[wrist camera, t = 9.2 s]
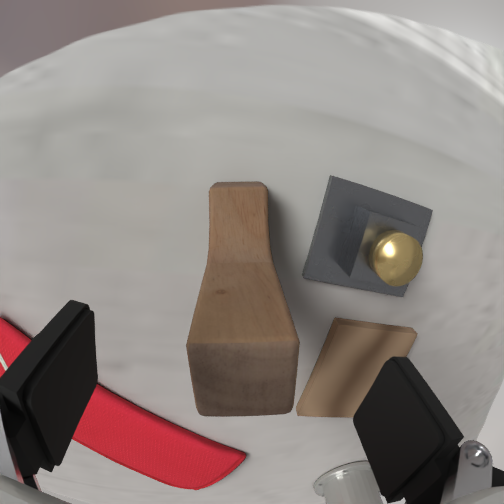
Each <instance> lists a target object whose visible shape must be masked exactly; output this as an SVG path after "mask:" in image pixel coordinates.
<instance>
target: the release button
mask: <svg viewBox="0 0 504 504" xmlns="http://www.w3.org/2000/svg"><path fill="white" fill-rule="evenodd" d="M422 260H423V253H422V248H421V246H420V244H419V242H418V241H417V240H416V239H415V238H413V237H411V236H409V235H407V234H405V233H403V232H401V231H399V230H388V231H385V232H383V233H382V234H380V235H379V236H378V237H377V238H376V239H375V241H374V242H373V244H372V246H371V248H370V252H369V263H370V266H371V268H372V270H373V272H374V273H375V274H377V275H378V276H379V277H380V278H381V279H382V280H383V281H384V282H385V283H387V284H388V285H391V286H402V285H405V284H407V283H408V282H410V281H411V280H412V279H413V278H414V277H415V276H416V275H417V273H418V272H419V270H420V267H421V264H422Z"/></svg>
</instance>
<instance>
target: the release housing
mask: <svg viewBox="0 0 504 504" xmlns="http://www.w3.org/2000/svg"><path fill="white" fill-rule="evenodd" d="M432 211H433V210H431V209H428V208H426V207H423V206H420V205H418V204H415V203H412V202H410V201H407V200H404V199H401V198H399V197H396V196H393V195H390V194H387V193H384V192H381V191H378V190H376V189H373V188H370V187H366V186H363V185H360V184H357V183H354V182H351V181H348V180H344V179H341V178H338V177H334V176H330V178H329V182H328V185H327V189H326V193H325V197H324V200H323V204H322V208H321V211H320V215H319V219H318V222H317V226H316V229H315V233H314V236H313V240H312V243H311V247H310V250H309V254H308V257H307V260H306V264H305V267H304V270H303V274H302V276H303V278H306V279H312V280H317V281H322V282H327V283H332V284H337V285H342V286H347V287H353V288H358V289H363V290H368V291H374V292H379V293H384V294H390V295H395V296H400V297H403V296H404V293H405V291H406V288H407V286H408V283H409V282H408V283H407V284H405V285H402V286H391V285H388V284H387V283H385V282H384V281H383V280H382V279H381V278H380V277H379V276H378V275H377V274H375V273H374V272H373V270H372V268H371V266H370V263H369V252H370V248H371V246H372V244H373V242H374V241H375V239H376V238H377V237H378V236H379V235H380V234H382V233H383V232H385V231H388V230H399V231H401V232H403V233H405V234H407V235H409V236H411V237H413V238H415V239H416V240H417V241H418V242H419V244H420V246H421V247H422V244H423V241H424V238H425V235H426V231H427V228H428V225H429V221H430V218H431V215H432Z"/></svg>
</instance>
